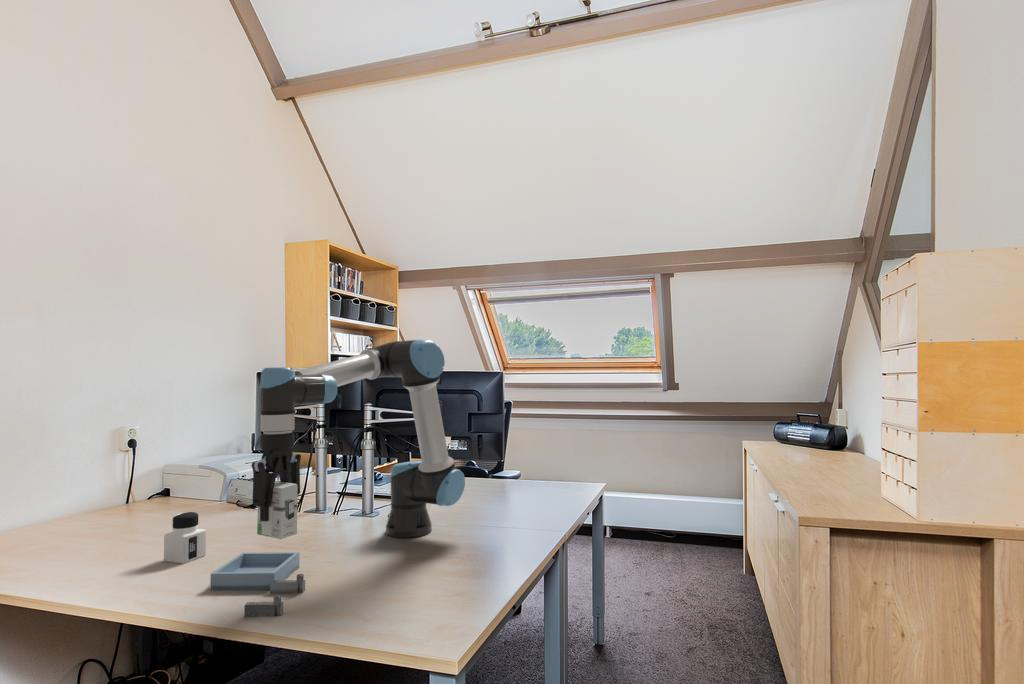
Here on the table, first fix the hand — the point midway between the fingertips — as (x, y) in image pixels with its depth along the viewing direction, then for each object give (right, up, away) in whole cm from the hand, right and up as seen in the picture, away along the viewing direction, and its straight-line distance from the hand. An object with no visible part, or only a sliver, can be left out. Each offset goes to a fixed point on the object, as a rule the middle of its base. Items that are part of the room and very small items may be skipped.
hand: (277, 530), depth 132 cm
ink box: (0, -1, 0) cm, 1 cm away
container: (-40, -19, +31) cm, 54 cm away
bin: (-12, -18, +15) cm, 26 cm away
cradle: (0, -17, -1) cm, 17 cm away
